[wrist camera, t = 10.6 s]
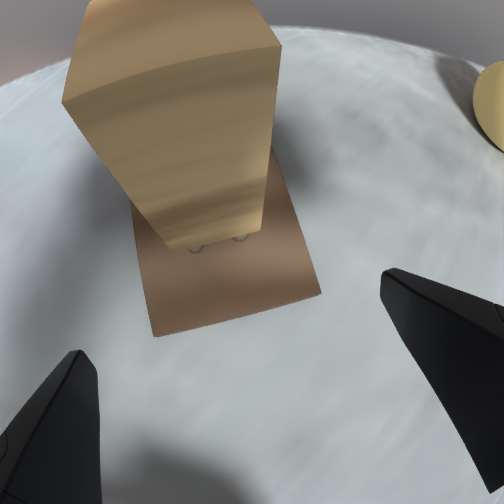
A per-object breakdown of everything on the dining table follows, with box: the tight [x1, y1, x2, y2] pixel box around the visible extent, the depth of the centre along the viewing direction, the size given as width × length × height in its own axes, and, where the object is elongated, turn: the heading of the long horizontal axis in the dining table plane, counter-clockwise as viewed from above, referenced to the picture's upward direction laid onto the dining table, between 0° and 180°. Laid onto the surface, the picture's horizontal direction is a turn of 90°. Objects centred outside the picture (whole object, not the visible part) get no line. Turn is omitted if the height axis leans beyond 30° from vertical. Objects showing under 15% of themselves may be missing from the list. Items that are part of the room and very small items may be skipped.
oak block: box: [61, 0, 282, 253], centre depth 12 cm, size 6×5×12 cm
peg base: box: [130, 146, 321, 337], centre depth 20 cm, size 14×11×4 cm
